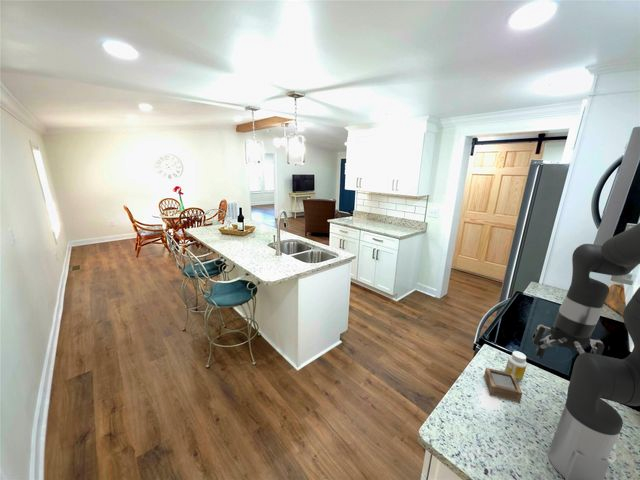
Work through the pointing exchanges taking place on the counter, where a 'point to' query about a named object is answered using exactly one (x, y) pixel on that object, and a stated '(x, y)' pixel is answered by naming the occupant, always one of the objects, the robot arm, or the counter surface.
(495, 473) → the counter surface
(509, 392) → the brown square tray
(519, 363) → the supplement bottle
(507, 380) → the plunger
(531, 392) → the counter surface
